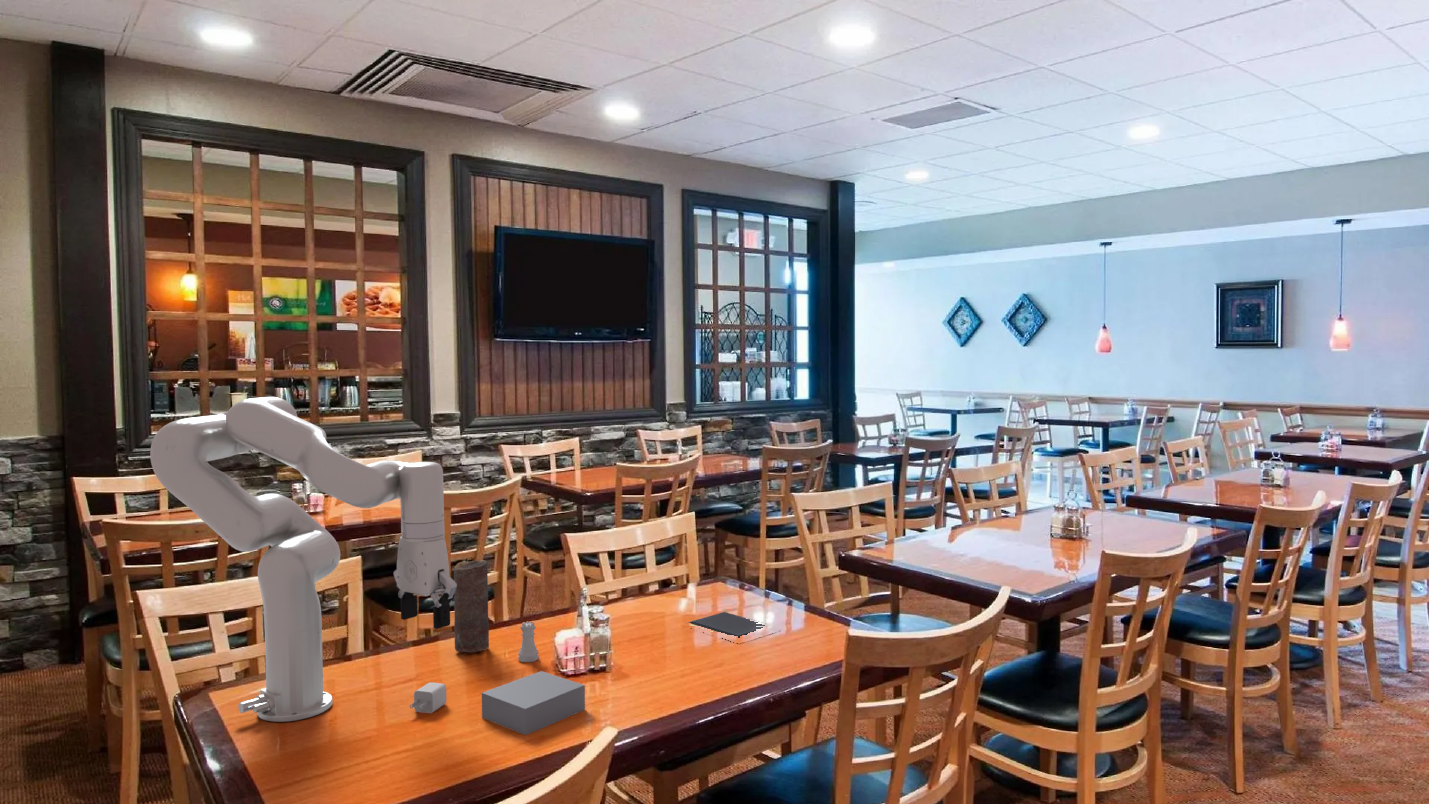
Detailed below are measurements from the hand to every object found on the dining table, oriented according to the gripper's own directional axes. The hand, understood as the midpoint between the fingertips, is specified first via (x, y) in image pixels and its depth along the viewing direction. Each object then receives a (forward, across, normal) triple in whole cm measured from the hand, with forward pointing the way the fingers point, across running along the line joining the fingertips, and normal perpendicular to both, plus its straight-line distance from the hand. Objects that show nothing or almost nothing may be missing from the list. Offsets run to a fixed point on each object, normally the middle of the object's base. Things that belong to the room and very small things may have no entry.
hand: (425, 622), depth 163 cm
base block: (+17, +17, +11) cm, 26 cm away
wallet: (+18, +16, +74) cm, 78 cm away
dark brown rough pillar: (+17, -20, +26) cm, 37 cm away
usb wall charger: (+17, 0, 0) cm, 17 cm away
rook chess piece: (+17, -6, +30) cm, 35 cm away
